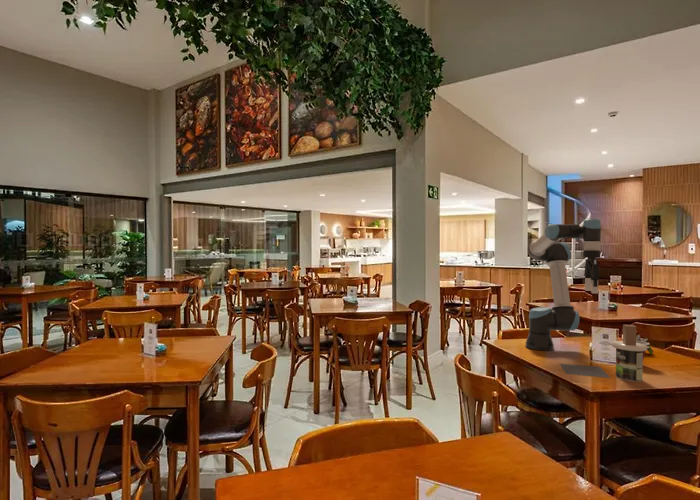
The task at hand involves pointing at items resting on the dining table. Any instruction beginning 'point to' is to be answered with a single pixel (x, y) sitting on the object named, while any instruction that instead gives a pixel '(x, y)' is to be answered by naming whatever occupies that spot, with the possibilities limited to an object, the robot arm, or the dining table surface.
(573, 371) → the mat
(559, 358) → the dining table surface
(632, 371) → the coffee can
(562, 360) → the dining table surface
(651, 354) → the passion flower
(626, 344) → the lid
